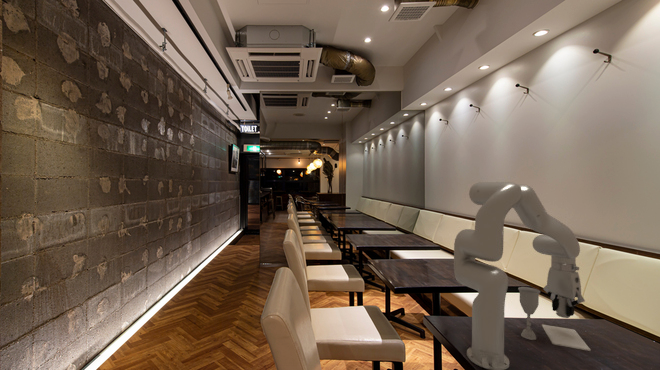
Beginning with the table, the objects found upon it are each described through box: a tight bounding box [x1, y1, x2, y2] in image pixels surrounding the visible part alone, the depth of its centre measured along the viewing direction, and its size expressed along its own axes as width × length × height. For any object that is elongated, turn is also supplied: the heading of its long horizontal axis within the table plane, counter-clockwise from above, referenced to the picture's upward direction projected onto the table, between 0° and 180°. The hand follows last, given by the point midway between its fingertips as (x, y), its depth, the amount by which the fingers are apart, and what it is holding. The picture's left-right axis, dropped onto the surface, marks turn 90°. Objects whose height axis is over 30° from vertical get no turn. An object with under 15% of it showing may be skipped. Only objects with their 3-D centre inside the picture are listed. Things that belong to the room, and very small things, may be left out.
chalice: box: [517, 286, 541, 341], centre depth 115 cm, size 7×7×18 cm
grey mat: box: [541, 323, 591, 352], centre depth 115 cm, size 16×11×1 cm
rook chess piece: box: [555, 295, 571, 319], centre depth 117 cm, size 4×4×8 cm
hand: (562, 312), depth 117 cm, fingers closed on rook chess piece, 4 cm apart
